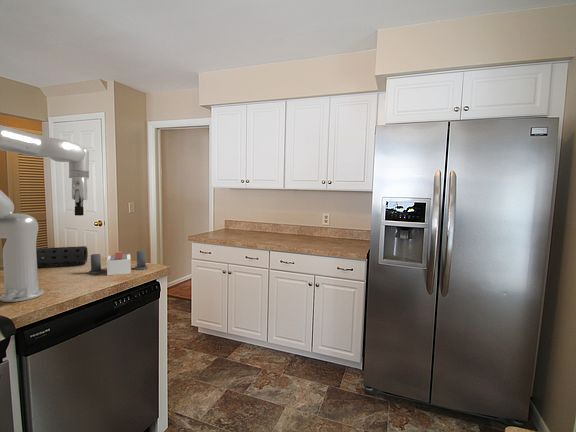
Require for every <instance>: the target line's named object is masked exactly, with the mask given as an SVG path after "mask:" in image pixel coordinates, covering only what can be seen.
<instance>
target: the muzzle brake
mask: <svg viewBox="0 0 576 432" xmlns="http://www.w3.org/2000/svg"><path fill="white" fill-rule="evenodd" d="M36 254H37V269H38V268H45V267H46V266H57V267H60V266H64V267H65V266H81V265H86V263H87V261H88V258H89V257H88V256H89V255H88V254H89V253H88V248H87V246H83V245H81V246H63V247H62V246H61V247H58V246H57V247H40V248H37V247H36Z"/></svg>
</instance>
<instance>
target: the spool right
mask: <svg viewBox="0 0 576 432" xmlns="http://www.w3.org/2000/svg"><path fill="white" fill-rule="evenodd" d="M146 261H147V260H146V250H137V251H136V266H135V267H134V270H135V271H144V269H145V270H148V269H149V266H148V265H146ZM147 268H148V269H147Z"/></svg>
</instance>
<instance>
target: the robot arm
mask: <svg viewBox="0 0 576 432" xmlns="http://www.w3.org/2000/svg"><path fill="white" fill-rule="evenodd" d="M0 151H2V152H3V151H5V152H8V153H15V154H20V155H24V156H27V157H28V156H29V157H36V158H37V157H39V158H50V160H52V161H55V162H60V163H68V178H69V179H71V199H72V200H74V216H75V217H76V216H80V217H81V216H82V217H83V216H84V211H85V209H84V208H85V207H84V201H87V200H88V198H89V197H88V182H87V181H88V180H89V179H90V156H89V155H90V152H89V150H88V149H87V148H86V147H85V148H84V147H83V146H82V145H80V144H77V143H75V142H72V141H68V140H64V139H60V138H54V137H49V136H45V135H40V134H34V133H30V132H27V131H23V130H19V129H16V128H13V127H9V126H5V125H2V124H0ZM14 211H15V204H14V203H13V201H12V199H11V198H10V197H9V196H7V195H6V194H5V192H3V190H1V189H0V239H6V241H5V243H4V246H3V248H2V262H3V263H2V264H3V265H2V266H3V280H4V293H3V294H1V295H0V301H1V302H3V303H4V302H5V303H16V302H23V301H29V300H32V299H35V298H37V297H38V298H39V297H41V296H42V295H44V289H43V288H39V278H38V277H39V275H38V268H37V254H36V248H37V239H38V233H39V223H38V221H37V219H36V218H35V217H33V216H31V215H29V214H26V213H16V212H14Z"/></svg>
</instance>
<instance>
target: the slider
mask: <svg viewBox="0 0 576 432" xmlns="http://www.w3.org/2000/svg"><path fill="white" fill-rule="evenodd" d="M122 254H123V251H115V252H114V255H115V259H122Z"/></svg>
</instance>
